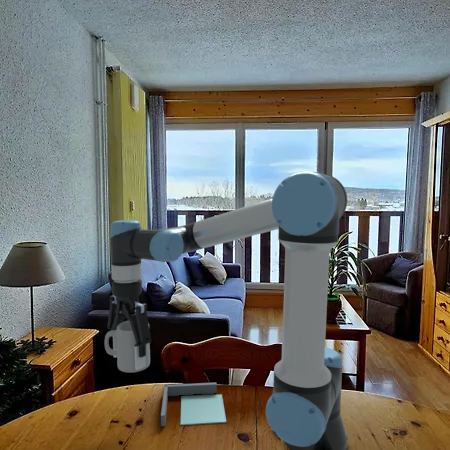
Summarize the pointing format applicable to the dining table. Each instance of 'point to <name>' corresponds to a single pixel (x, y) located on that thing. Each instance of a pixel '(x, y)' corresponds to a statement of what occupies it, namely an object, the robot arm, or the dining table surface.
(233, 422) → the dining table surface
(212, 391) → the gray corner wall
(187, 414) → the mat
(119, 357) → the mug
